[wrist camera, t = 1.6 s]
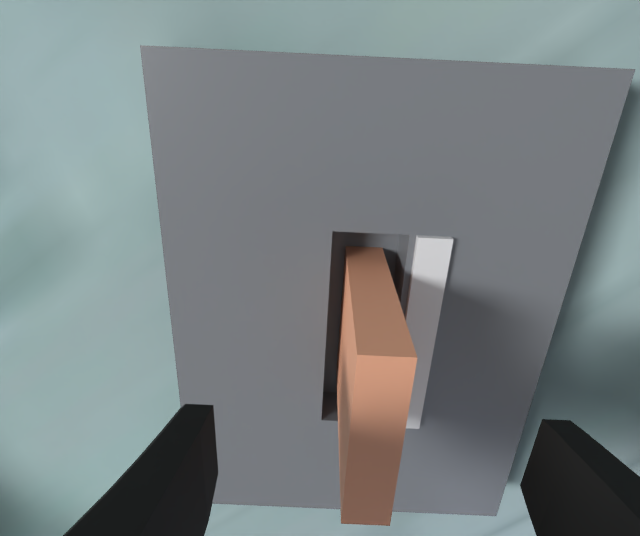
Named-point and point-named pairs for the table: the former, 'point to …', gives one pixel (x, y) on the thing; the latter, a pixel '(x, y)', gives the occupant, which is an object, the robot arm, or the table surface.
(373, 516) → the upright peach slab
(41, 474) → the table surface
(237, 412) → the gray slotted plate
